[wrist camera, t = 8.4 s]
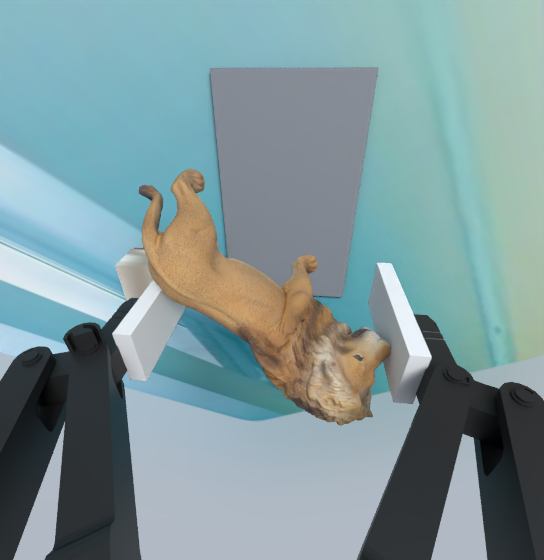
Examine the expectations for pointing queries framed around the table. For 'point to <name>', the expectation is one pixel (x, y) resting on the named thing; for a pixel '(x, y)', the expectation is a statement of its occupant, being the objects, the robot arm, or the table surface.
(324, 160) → the gray mat
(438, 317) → the table surface
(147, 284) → the brick stack
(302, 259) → the lion figurine
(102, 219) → the table surface
